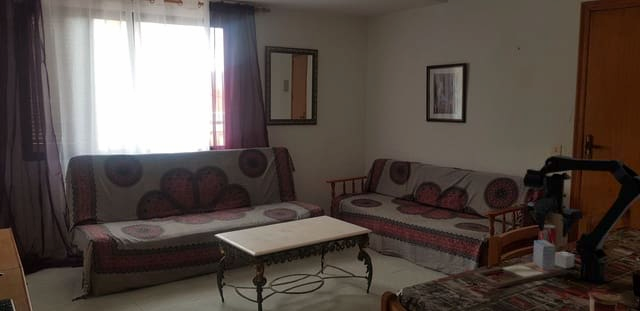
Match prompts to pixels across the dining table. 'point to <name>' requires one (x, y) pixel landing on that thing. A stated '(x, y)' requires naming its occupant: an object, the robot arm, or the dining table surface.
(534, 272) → the board
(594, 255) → the robot arm
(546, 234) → the beverage can
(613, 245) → the dining table surface
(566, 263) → the die
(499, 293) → the dining table surface
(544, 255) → the medicine box
